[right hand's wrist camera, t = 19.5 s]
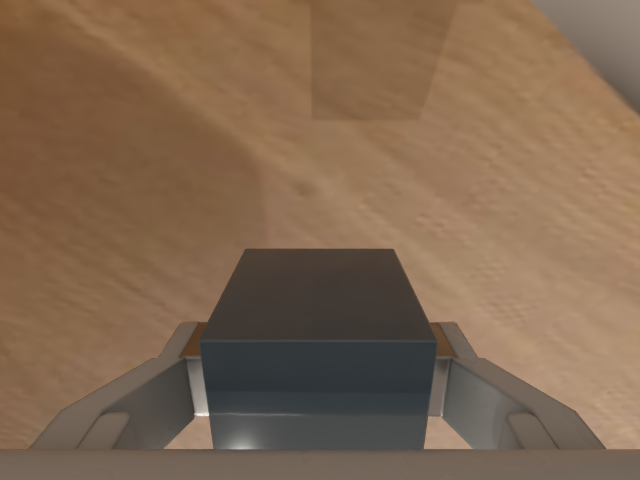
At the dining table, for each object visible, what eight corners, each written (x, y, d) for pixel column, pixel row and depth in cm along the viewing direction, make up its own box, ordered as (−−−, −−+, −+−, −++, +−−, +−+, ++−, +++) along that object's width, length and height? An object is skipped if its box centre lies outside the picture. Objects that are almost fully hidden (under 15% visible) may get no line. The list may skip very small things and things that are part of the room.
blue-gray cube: (254, 368, 13) (220, 504, 9) (244, 248, 11) (196, 340, 7) (384, 369, 13) (417, 505, 9) (394, 248, 11) (440, 340, 7)
